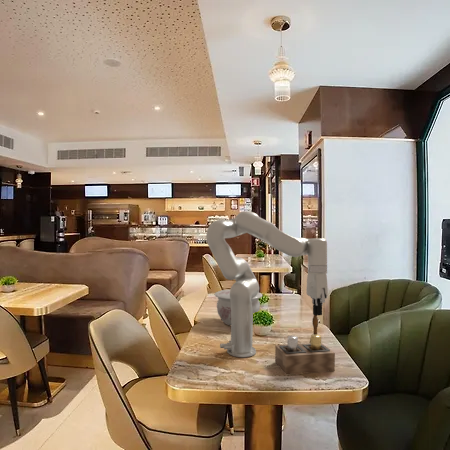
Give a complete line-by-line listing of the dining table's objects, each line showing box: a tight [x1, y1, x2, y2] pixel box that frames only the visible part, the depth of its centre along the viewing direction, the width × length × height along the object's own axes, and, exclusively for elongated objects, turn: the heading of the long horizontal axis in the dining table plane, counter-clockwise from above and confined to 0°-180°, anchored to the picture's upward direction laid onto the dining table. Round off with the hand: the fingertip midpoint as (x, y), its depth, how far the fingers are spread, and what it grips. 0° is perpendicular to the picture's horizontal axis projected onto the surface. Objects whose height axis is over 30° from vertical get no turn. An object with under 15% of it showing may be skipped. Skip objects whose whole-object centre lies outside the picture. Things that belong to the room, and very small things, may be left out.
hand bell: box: [309, 315, 319, 343], centre depth 159 cm, size 8×8×16 cm
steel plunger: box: [286, 334, 299, 352], centre depth 139 cm, size 4×4×7 cm
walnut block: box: [274, 342, 336, 375], centre depth 140 cm, size 20×12×7 cm, turn 101°
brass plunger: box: [310, 333, 322, 351], centre depth 141 cm, size 4×4×7 cm
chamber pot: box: [214, 288, 263, 326], centre depth 200 cm, size 28×28×21 cm
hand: (317, 314), depth 141 cm, fingers closed
